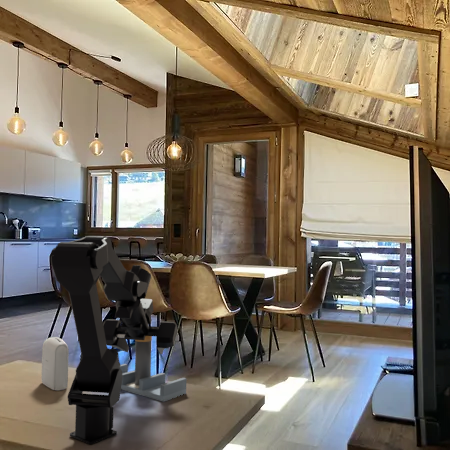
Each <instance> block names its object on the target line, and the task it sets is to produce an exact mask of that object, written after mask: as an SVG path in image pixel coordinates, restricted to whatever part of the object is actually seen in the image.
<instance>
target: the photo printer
mask: <svg viewBox="0 0 450 450" xmlns="http://www.w3.org/2000/svg"><path fill="white" fill-rule="evenodd" d="M41 350H42V352H41V383H42V384H43V385H44V386H46V387H47V388H49V389H51V390H53V391H63V390H66V389H67V388H68V387H69V386H68V385H69V384H68V383H69V355H70V353H69V346H68V344H67V343H66V342H65V340H63V339H62V338H60V337H58V336H53V337H48V338H46V339H45V340H44V341H43V344H42V349H41Z"/></svg>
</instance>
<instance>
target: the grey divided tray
mask: <svg viewBox="0 0 450 450" xmlns="http://www.w3.org/2000/svg"><path fill="white" fill-rule="evenodd" d="M128 367H129V365H128V364H127V363H123V364H120V369H121V370H122V374H123V377H122V385H121V391H122V390H123V391H125V392H129V393H133V394H135V395H140V396H143V397H146V398H149V399H152V400H156V401H160V402H167V401H169V400H173V399H175V398H177V396H178V397H181V396H183V394H184V395H186V394H187V378H186V377H181V378H178V379H175V380H171V381H169V382H166V373H165V372H160V373H156V374H154V375H151V376H149V377H146V378H142V379H139V385H135V369H134V370H130V371H128V370H129V369H128ZM180 395H181V396H180ZM172 398H173V399H172Z"/></svg>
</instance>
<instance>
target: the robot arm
mask: <svg viewBox="0 0 450 450" xmlns="http://www.w3.org/2000/svg"><path fill="white" fill-rule="evenodd" d="M112 245H113V244H112V240H111V237H107V236H105V235H104V236H101V235H87V236H84V237H81V238H79V239H76V240H71V241H60V242H58V243H57V245H56V246H55V247H53V249H52V250H51V252H50V256H49V262H50V265H51V267H52V270H53V274H54V277H55V279H56V281H57V283H58V284H60V285H61V286H62V287H63V288H64V289H65V290H66V291H67V292H68V296H69V300H70V305H71V310H72V314H73V315H72V316H73V321H74V324H75V330H76V335H77V340H78V345H79V349H80V355H81V358H80V361H79V363H78V365H77V367H76V369H75V375H74V377H73V381H72V384H71V386H70V388H69V391H68V394H67V402H68V406H73V405H74V406H75V424H74V425H75V426H74V427H75V428H74V430H75V431H72V432H70V433H69V436H70V437H71V438H74V439H76V440H79V441H81V442H83V443H86V444H88V445H92V444H95V443H97V442H100V441H103V440H105V439H108V438H110V437H113V436H116V435H117V434H118V431H117V430H114V429H113V428H114V408H115V407H114V406H115V405H116V404H118V402H119V401H120V398H121V391H122V390H121V385H122V377H123V374H122V370H121V369H120V365H121V362H120V358H119V352H118V350H121V351H122V352H125V353H129V351H130V347H129V344H128V341H127V340H130V341H133V340H134V341H135V340H144V339H145V336H152V337H156V344H157V346H156V348H157V350H158V352H159V354H160V355H163V353H164V351H165V349H169V348H173V346H175V342H176V338H177V333H178V324H177V323H176V322H175V321H160V323H159V326H153V325H152V326H150V325H151V323H152V321H153V320H152V317H151V316H152V314H153V313H154V305H153V303H154V302H153V299H151V298H146V295H147V293H148V289H149V286H150V283H151V279H152V274H151V273H150V272H149V271H148V270H146V269H144V268H142V265H138V264H137V265H135V264H133V265H132V267H131V268H130V270H127V269H126V268H125V266H124V265H123V263H122V261H121V260H120V258H119V256H118V255H117V253H116V251H115V250H114V247H112ZM100 277H101V278H102V280H103V281H104V285H103V292H104V295H105V296H106V299H107V300H108V301H109V302H116V303H115V308H116V311H115V315H114V318H115V319H112V318H110V319H109V318H108V319H105V320H104V321H103V315H102V311H101V305H100V300H99V299H100V297H99V294H98V287H97V282H98V280H99V279H100ZM108 346H109V347H112V348H108ZM84 392H86V393H84ZM93 393H96V394H93ZM97 393H100V394H97ZM101 393H103V394H101ZM107 394H108V395H107Z"/></svg>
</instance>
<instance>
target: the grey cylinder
mask: <svg viewBox="0 0 450 450" xmlns="http://www.w3.org/2000/svg"><path fill="white" fill-rule="evenodd" d="M152 338H153V336H145V339H144V340H134V341H135V348H134V349H135V353H134V356H135V357H134V370H135V385H139V379H142V378H146V377H149V376H152V372H151V371H152V369H151V368H152V341H153V339H152Z"/></svg>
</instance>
